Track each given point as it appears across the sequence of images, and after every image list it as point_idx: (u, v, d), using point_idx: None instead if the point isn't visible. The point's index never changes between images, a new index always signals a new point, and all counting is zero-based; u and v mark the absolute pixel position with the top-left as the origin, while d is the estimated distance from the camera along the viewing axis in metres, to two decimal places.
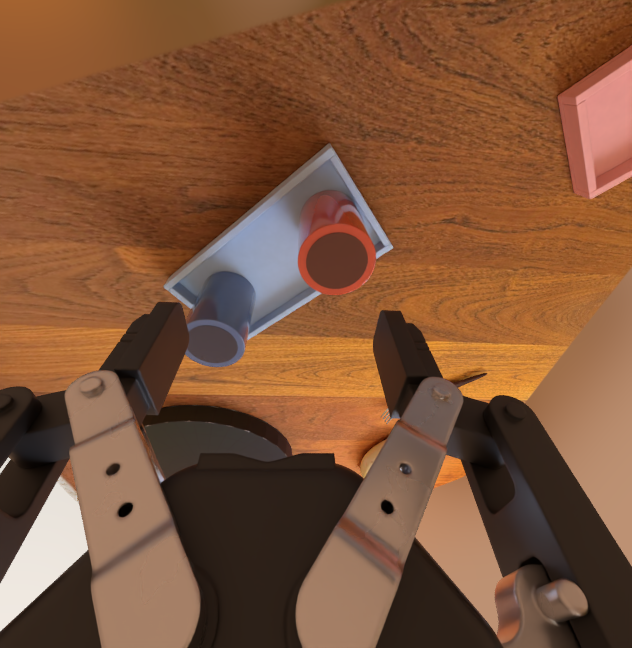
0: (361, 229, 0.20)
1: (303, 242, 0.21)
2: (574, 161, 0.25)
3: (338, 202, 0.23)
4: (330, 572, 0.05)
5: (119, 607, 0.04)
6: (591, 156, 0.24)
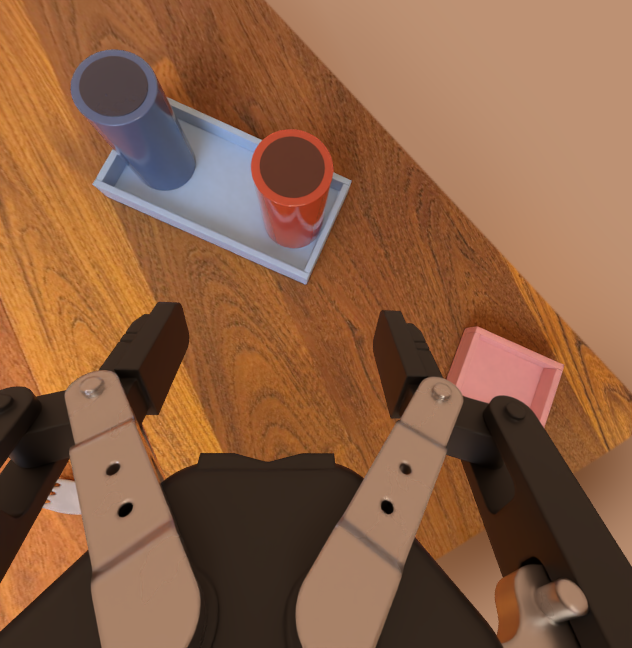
0: (332, 173, 0.21)
1: None
2: (450, 380, 0.27)
3: None
4: (330, 572, 0.05)
5: (119, 607, 0.04)
6: (463, 380, 0.26)
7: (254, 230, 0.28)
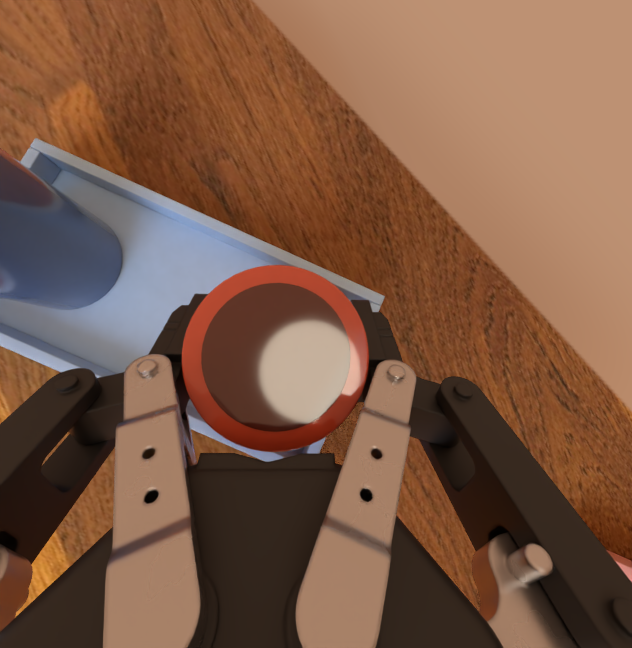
0: (367, 362, 0.09)
1: (282, 266, 0.09)
2: None
3: None
4: (330, 572, 0.05)
5: (119, 607, 0.04)
6: None
7: None
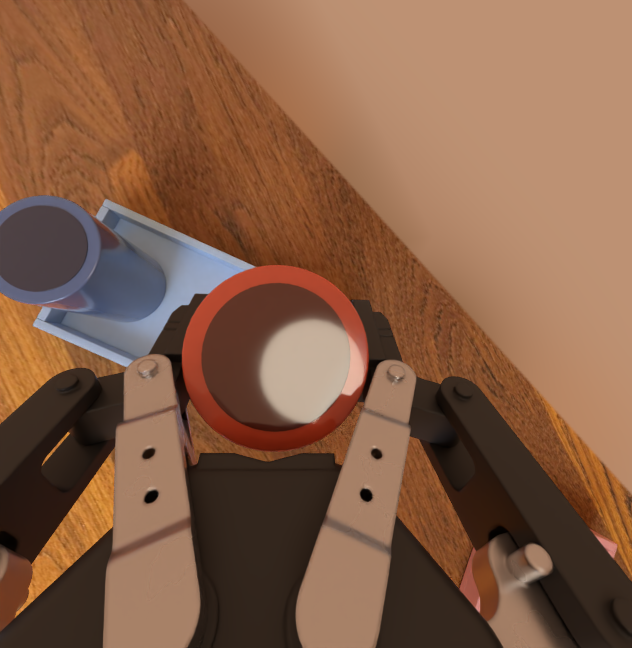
0: (367, 362, 0.09)
1: (282, 266, 0.09)
2: None
3: None
4: (330, 572, 0.05)
5: (119, 607, 0.04)
6: None
7: None
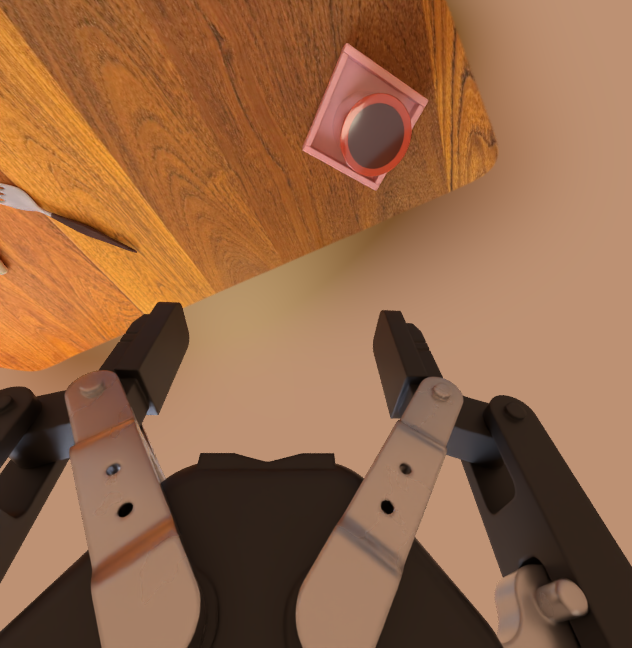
0: None
1: (383, 93, 0.22)
2: (317, 112, 0.29)
3: None
4: (330, 572, 0.05)
5: (119, 607, 0.04)
6: (324, 111, 0.28)
7: None
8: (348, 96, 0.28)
